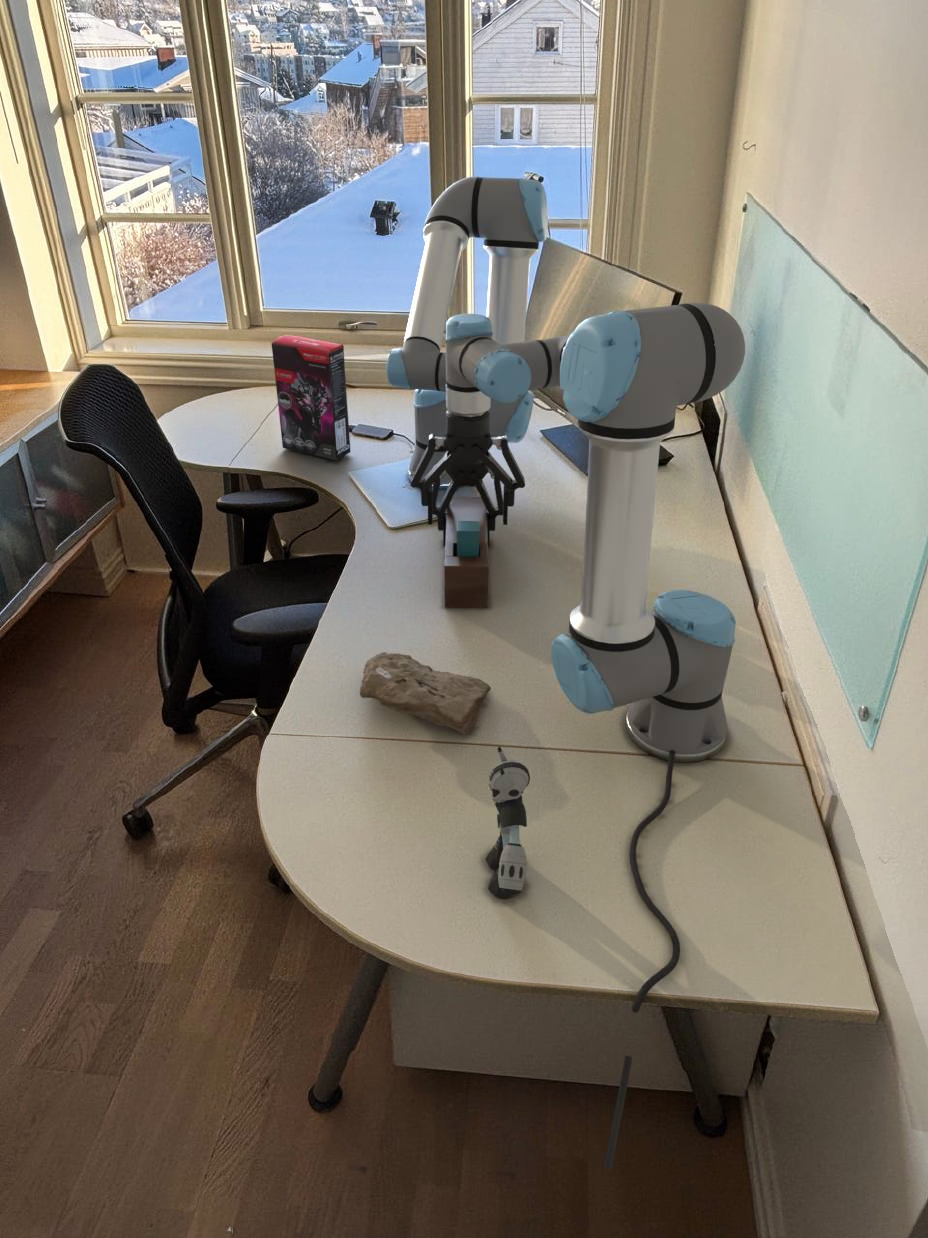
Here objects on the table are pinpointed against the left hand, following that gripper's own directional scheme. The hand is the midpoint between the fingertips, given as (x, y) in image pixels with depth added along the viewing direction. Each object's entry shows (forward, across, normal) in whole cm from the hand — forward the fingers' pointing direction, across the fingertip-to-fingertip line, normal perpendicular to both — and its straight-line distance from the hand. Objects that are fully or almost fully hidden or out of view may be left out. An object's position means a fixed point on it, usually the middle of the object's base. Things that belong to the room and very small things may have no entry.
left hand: (466, 543), depth 191 cm
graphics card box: (0, +38, -47) cm, 60 cm away
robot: (0, -5, +87) cm, 87 cm away
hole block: (0, 0, +10) cm, 10 cm away
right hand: (-15, 0, +18) cm, 24 cm away
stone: (0, +7, +53) cm, 53 cm away
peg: (0, 0, +18) cm, 18 cm away
